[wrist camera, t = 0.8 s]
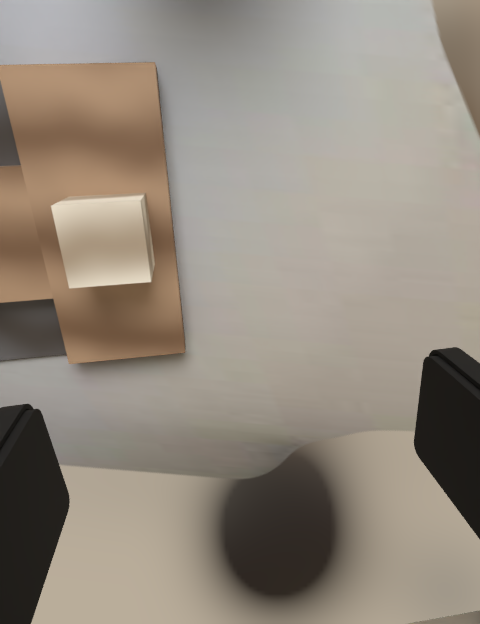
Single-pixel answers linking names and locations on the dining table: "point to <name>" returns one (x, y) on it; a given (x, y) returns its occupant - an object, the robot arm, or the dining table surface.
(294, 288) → the dining table surface
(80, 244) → the block
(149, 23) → the dining table surface
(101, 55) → the dining table surface
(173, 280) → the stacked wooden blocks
